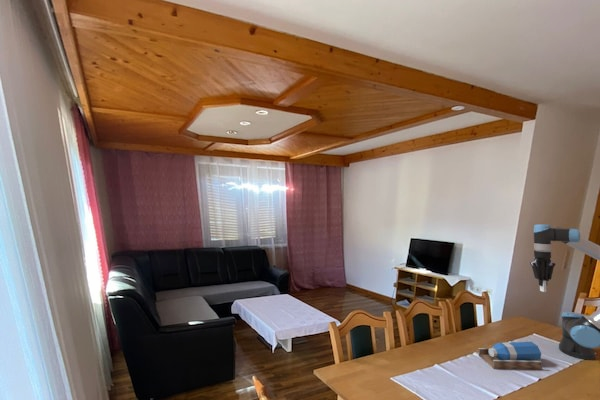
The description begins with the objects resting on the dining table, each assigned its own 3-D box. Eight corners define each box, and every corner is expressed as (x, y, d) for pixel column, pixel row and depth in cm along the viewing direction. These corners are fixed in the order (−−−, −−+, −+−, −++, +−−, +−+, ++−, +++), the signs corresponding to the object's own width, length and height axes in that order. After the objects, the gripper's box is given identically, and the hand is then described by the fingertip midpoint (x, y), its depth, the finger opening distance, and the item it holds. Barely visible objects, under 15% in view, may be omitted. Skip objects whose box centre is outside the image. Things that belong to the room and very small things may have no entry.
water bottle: (539, 343, 149) (496, 345, 147) (543, 363, 147) (499, 364, 145) (524, 339, 158) (483, 341, 156) (527, 357, 156) (486, 359, 154)
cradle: (522, 356, 158) (522, 349, 158) (541, 370, 144) (541, 361, 145) (478, 355, 158) (478, 348, 158) (494, 369, 145) (494, 360, 145)
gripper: (548, 249, 165) (548, 289, 164) (525, 249, 166) (526, 289, 165) (559, 251, 158) (560, 293, 157) (536, 251, 158) (537, 293, 157)
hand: (543, 291), depth 161 cm, fingers closed
